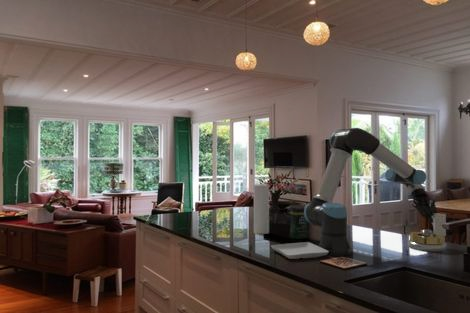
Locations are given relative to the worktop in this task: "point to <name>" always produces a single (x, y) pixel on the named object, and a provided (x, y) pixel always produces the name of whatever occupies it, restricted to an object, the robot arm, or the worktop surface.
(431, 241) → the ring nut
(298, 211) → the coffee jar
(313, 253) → the salad plate
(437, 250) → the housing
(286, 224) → the worktop surface
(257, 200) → the cylinder container
